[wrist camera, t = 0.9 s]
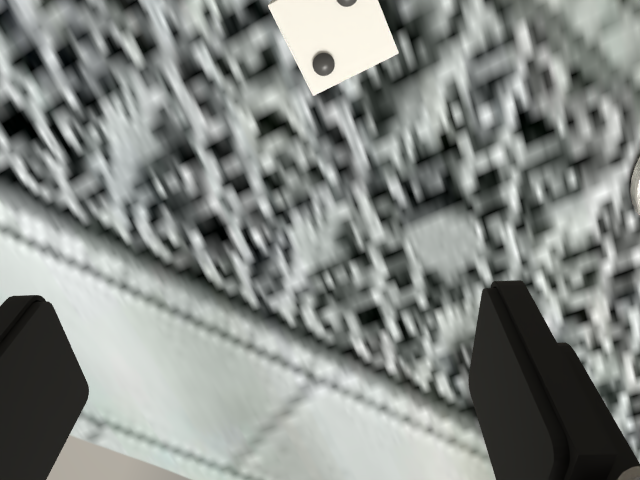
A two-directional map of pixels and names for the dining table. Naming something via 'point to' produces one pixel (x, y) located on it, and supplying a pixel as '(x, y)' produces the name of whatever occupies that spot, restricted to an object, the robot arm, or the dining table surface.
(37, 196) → the dining table surface
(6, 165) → the dining table surface
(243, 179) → the dining table surface
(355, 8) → the die
